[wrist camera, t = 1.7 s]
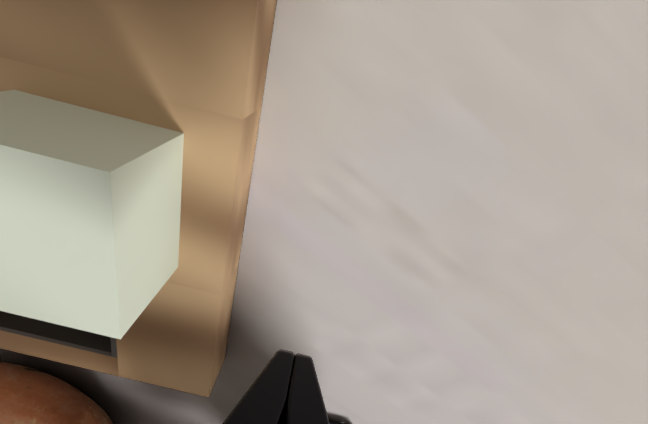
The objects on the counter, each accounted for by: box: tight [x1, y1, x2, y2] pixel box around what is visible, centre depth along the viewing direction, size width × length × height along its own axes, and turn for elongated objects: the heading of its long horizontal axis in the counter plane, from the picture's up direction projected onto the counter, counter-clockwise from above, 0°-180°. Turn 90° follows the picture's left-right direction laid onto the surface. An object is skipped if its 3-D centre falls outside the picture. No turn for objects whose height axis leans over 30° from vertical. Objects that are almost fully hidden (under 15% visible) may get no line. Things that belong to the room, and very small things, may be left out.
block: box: [0, 90, 184, 340], centre depth 11 cm, size 6×6×4 cm
